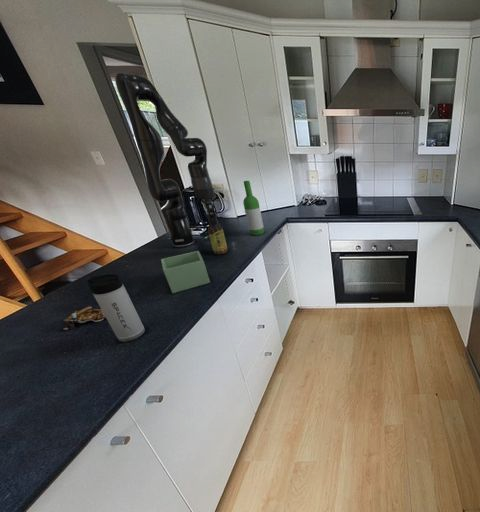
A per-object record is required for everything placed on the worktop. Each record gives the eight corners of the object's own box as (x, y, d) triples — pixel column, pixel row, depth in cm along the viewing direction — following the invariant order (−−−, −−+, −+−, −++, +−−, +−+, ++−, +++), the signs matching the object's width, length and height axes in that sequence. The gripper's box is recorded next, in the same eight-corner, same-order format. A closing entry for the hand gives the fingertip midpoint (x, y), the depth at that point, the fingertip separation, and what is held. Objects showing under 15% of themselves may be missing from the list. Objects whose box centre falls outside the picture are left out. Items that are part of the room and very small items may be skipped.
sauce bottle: (222, 255, 132) (211, 216, 123) (210, 254, 133) (199, 215, 124) (231, 250, 137) (221, 212, 128) (220, 248, 138) (210, 211, 130)
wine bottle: (258, 236, 154) (246, 183, 140) (247, 235, 156) (235, 181, 143) (267, 232, 160) (257, 180, 147) (256, 230, 162) (246, 179, 149)
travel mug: (127, 328, 85) (98, 272, 76) (150, 327, 85) (124, 272, 77) (111, 342, 79) (78, 284, 71) (135, 341, 80) (105, 283, 71)
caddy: (169, 280, 110) (160, 259, 106) (205, 271, 118) (198, 250, 113) (172, 293, 102) (163, 270, 98) (210, 282, 110) (203, 260, 105)
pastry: (115, 317, 90) (110, 308, 88) (63, 331, 83) (57, 322, 82) (118, 306, 95) (113, 298, 93) (69, 319, 88) (63, 310, 87)
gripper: (190, 185, 124) (201, 221, 131) (195, 190, 114) (206, 229, 121) (209, 183, 128) (218, 218, 136) (215, 188, 118) (225, 225, 126)
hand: (213, 223), depth 128 cm, fingers closed on sauce bottle, 4 cm apart
